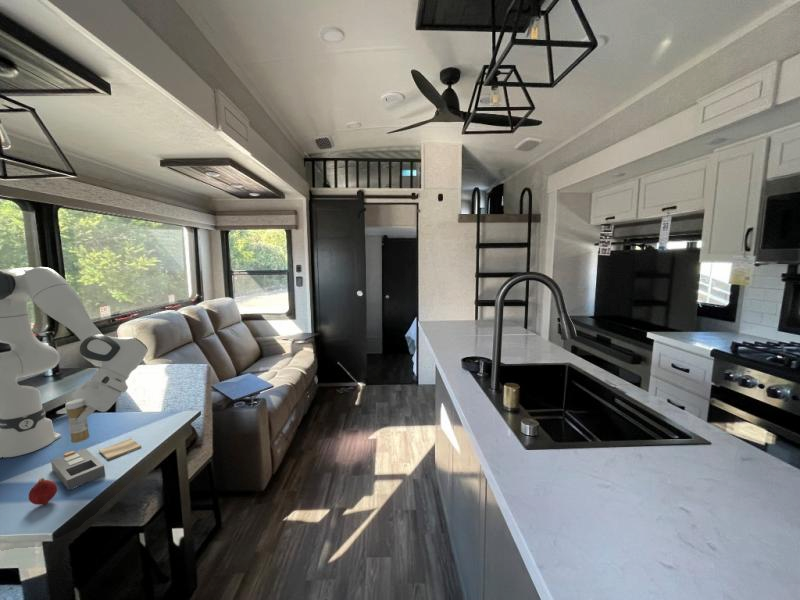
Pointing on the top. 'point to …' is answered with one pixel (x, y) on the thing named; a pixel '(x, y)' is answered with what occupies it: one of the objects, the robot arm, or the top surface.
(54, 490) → the onion
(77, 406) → the sprinkles bottle
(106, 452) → the wooden mat
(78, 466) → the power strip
